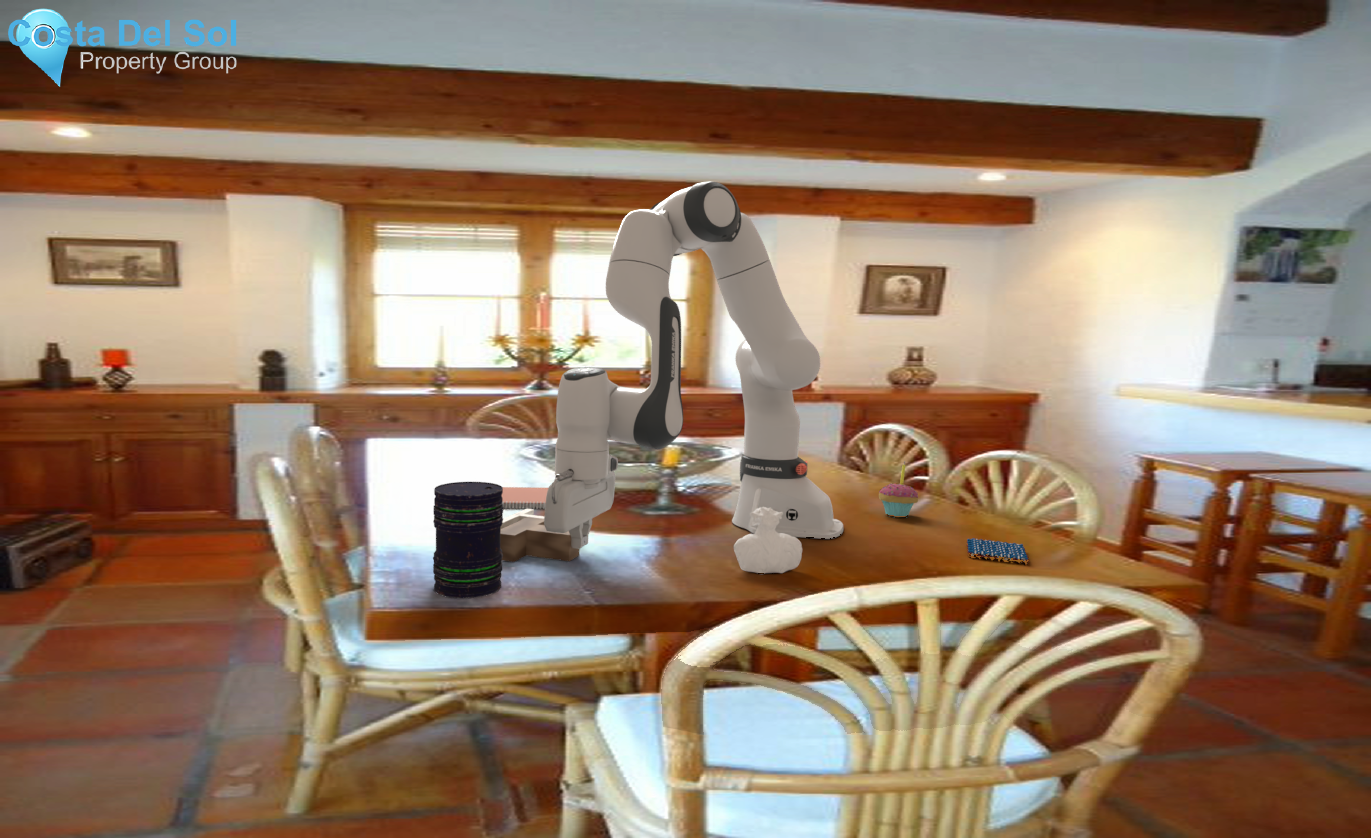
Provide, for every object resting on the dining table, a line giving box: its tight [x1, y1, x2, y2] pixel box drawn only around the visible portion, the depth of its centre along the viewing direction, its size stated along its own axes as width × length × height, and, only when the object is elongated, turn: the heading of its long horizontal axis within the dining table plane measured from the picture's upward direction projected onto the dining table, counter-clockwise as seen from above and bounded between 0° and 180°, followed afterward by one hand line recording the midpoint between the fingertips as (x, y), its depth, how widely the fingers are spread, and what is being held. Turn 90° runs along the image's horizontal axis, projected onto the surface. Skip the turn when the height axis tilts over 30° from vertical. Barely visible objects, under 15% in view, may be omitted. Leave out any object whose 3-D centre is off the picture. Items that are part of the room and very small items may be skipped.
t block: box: [500, 517, 581, 563], centre depth 135 cm, size 12×12×4 cm
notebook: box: [502, 486, 549, 510], centre depth 176 cm, size 27×17×2 cm, turn 98°
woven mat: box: [966, 538, 1030, 562], centre depth 146 cm, size 10×11×2 cm
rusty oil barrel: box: [432, 481, 504, 599], centre depth 116 cm, size 10×10×15 cm
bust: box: [733, 507, 803, 574], centre depth 132 cm, size 12×8×11 cm
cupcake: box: [878, 460, 919, 516], centre depth 174 cm, size 9×8×12 cm
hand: (579, 546), depth 133 cm, fingers closed, pressing on t block
